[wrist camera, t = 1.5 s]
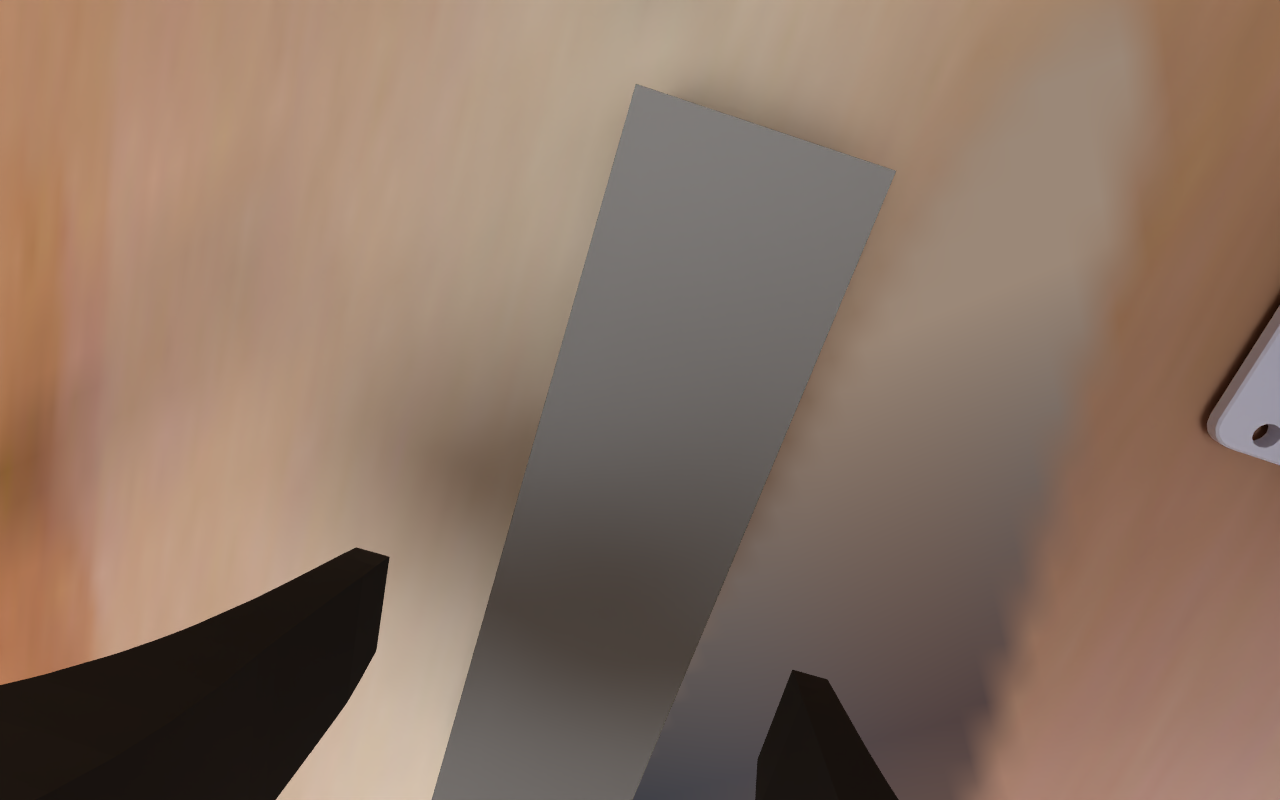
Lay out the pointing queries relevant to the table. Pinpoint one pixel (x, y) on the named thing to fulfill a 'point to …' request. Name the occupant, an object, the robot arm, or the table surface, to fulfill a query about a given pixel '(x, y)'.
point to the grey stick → (654, 442)
